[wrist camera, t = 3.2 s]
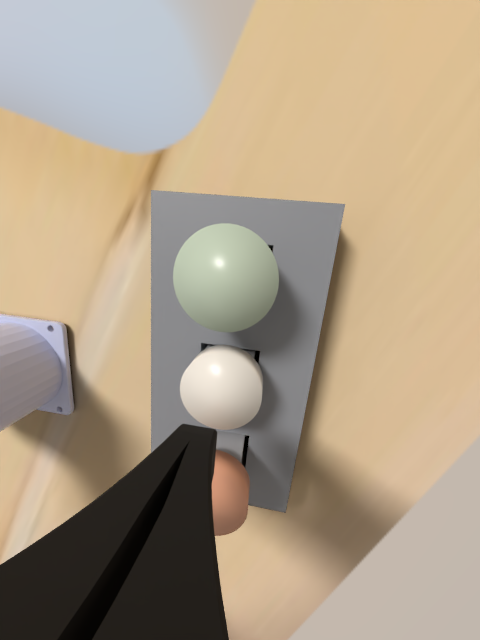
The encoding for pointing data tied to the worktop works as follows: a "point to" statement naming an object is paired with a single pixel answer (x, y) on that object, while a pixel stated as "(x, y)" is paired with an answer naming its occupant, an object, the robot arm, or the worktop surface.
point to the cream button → (222, 387)
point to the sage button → (226, 277)
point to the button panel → (265, 336)
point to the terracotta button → (229, 484)
